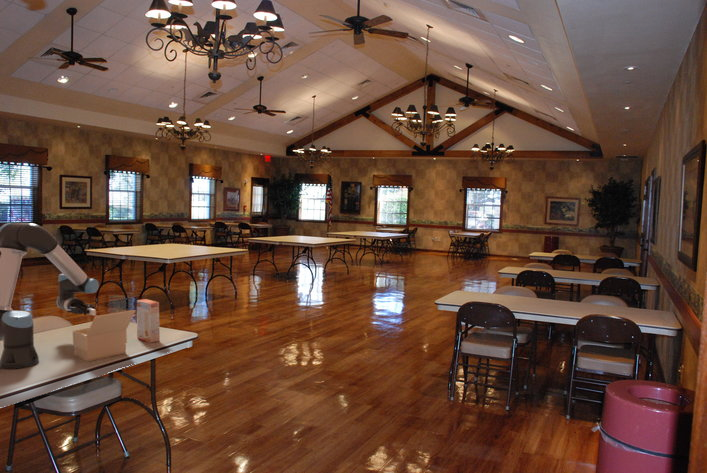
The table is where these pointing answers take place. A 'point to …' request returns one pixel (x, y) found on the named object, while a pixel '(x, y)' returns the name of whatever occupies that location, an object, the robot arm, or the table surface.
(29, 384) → the table surface
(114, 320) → the flap
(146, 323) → the cracker box
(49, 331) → the table surface
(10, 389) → the table surface
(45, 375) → the table surface
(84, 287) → the robot arm
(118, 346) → the carton
